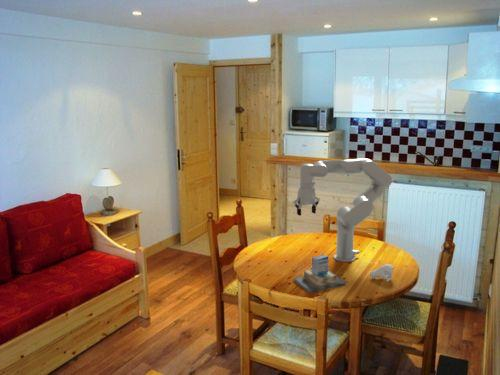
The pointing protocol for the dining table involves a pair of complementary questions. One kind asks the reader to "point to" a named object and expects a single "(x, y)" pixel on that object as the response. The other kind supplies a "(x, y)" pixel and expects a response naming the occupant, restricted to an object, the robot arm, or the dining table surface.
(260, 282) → the dining table surface
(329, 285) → the plinth
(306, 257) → the dining table surface
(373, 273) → the grey rock
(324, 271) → the medicine box
